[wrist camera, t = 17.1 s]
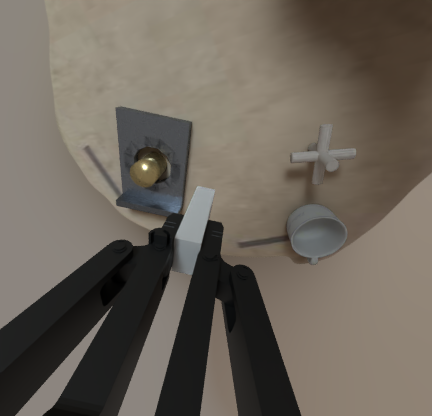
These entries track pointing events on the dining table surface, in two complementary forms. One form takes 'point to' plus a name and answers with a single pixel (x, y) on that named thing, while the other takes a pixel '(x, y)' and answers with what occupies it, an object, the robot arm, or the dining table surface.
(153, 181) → the gold round-ended peg
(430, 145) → the dining table surface
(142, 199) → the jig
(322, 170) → the pipe connector
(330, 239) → the teacup
